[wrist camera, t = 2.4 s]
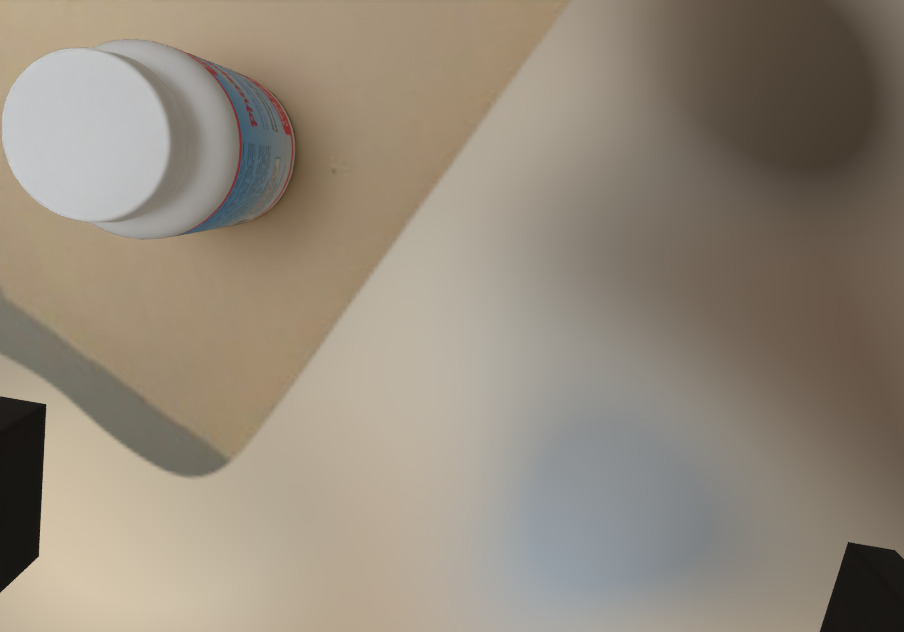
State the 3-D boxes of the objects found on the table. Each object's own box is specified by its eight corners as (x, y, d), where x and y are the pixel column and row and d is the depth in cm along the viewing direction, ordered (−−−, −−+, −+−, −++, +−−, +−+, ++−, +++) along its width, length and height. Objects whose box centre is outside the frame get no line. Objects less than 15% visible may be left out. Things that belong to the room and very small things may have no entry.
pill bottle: (318, 103, 31) (227, 64, 20) (272, 245, 32) (161, 282, 21) (176, 49, 31) (4, -20, 20) (135, 193, 32) (-50, 204, 21)
